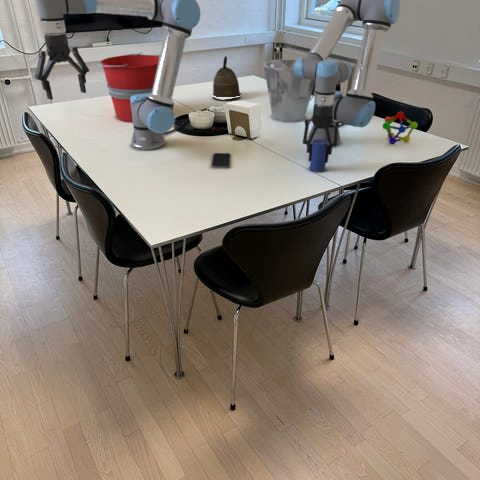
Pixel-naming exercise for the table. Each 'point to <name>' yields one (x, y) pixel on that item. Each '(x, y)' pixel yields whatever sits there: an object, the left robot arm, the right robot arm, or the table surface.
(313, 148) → the can
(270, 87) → the bucket
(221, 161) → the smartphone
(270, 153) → the table surface
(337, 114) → the right robot arm
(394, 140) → the educational toy
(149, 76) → the bucket
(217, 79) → the bell
